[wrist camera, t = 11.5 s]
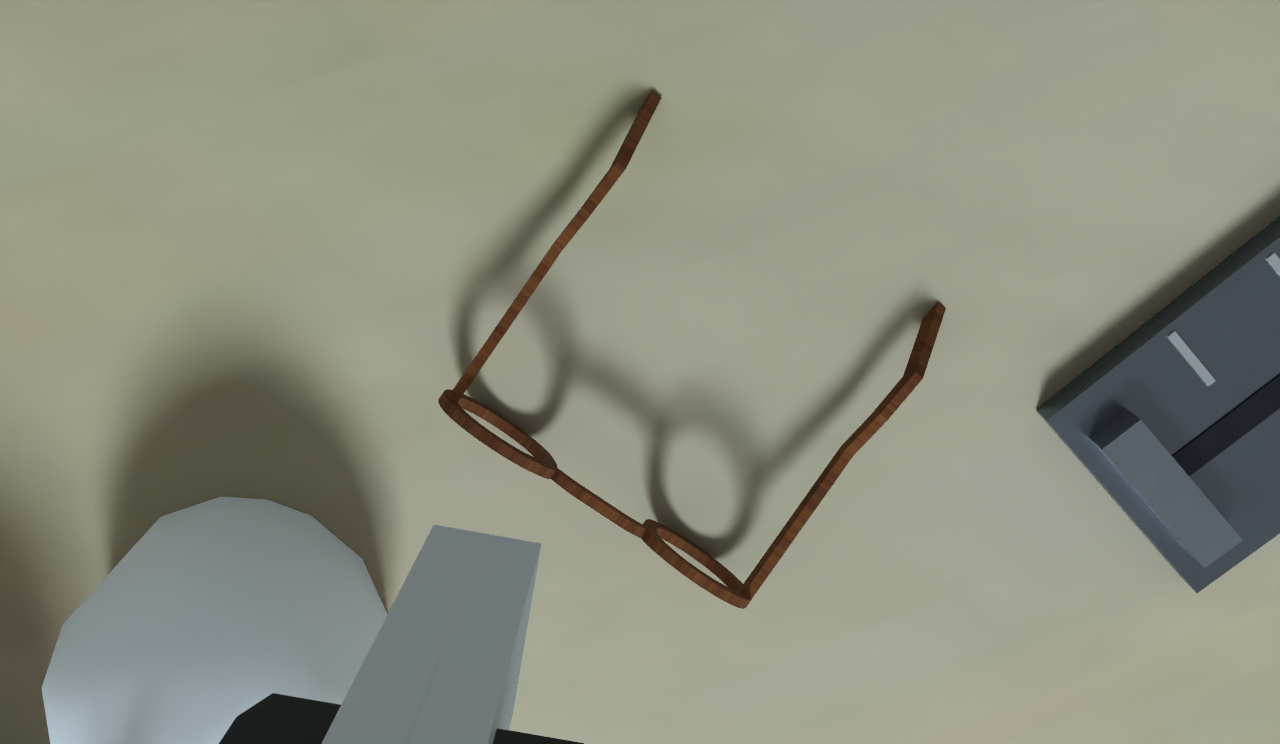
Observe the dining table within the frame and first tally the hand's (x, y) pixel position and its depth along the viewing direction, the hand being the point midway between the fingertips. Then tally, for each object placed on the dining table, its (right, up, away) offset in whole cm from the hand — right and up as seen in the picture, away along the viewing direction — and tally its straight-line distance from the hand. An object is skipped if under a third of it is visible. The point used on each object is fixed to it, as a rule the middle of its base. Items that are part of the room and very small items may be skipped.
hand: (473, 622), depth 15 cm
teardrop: (-13, -6, +28) cm, 31 cm away
